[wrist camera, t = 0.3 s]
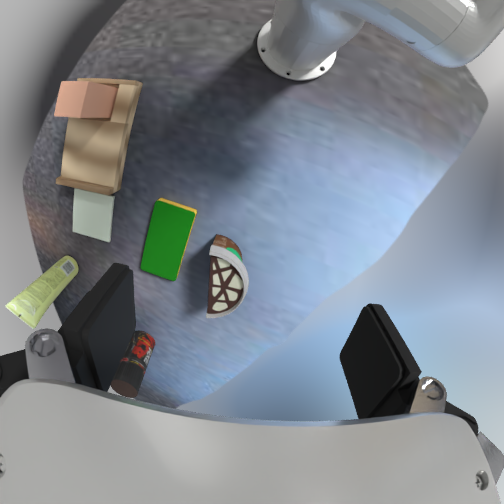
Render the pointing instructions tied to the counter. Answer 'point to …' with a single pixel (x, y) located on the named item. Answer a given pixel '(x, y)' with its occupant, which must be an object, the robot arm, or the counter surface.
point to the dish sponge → (167, 238)
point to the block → (85, 100)
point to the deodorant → (133, 364)
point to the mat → (93, 214)
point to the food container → (225, 278)
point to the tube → (43, 291)
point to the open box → (100, 142)
